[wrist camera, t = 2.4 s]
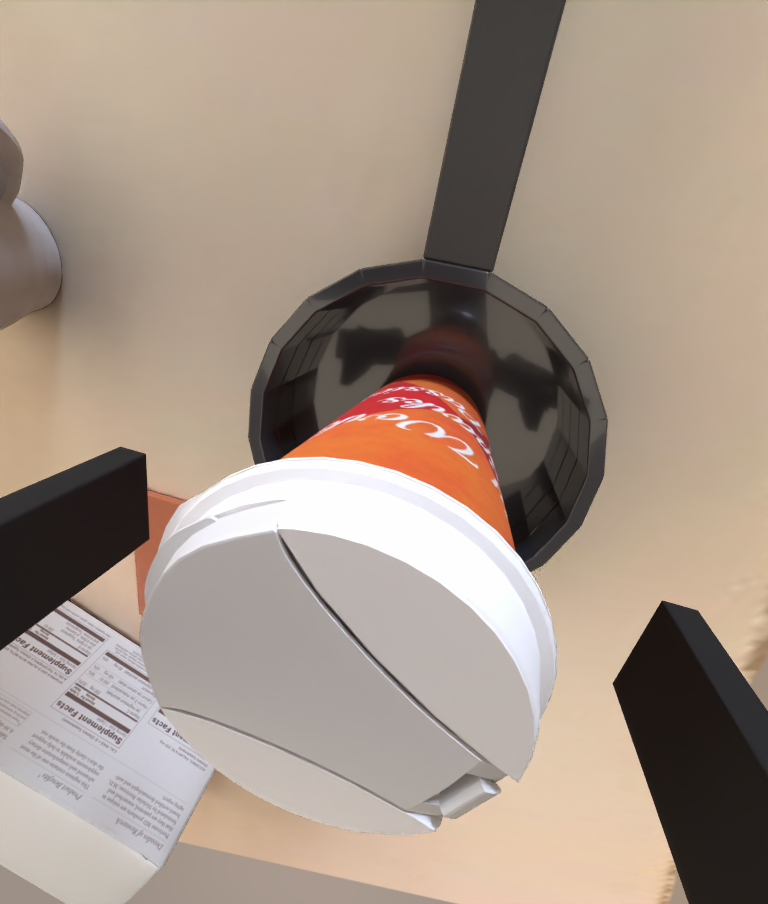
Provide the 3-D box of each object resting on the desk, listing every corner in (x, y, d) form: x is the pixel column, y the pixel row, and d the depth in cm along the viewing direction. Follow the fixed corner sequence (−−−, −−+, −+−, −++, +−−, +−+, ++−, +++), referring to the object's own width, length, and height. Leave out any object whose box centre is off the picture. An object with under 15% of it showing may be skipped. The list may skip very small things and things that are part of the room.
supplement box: (24, 677, 35) (-119, 800, 27) (56, 586, 30) (-112, 705, 21) (188, 782, 36) (99, 935, 28) (248, 713, 31) (160, 876, 22)
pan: (298, 236, 18) (259, 226, 14) (640, 305, 16) (680, 309, 13) (273, 513, 23) (241, 548, 20) (523, 585, 22) (531, 636, 18)
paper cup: (544, 416, 18) (708, 729, 5) (440, 531, 21) (384, 898, 8) (399, 310, 18) (192, 371, 5) (315, 443, 21) (59, 688, 8)
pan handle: (510, -151, 11) (514, -191, 10) (604, -144, 11) (616, -185, 10) (425, 260, 15) (422, 258, 14) (491, 273, 15) (492, 272, 14)
